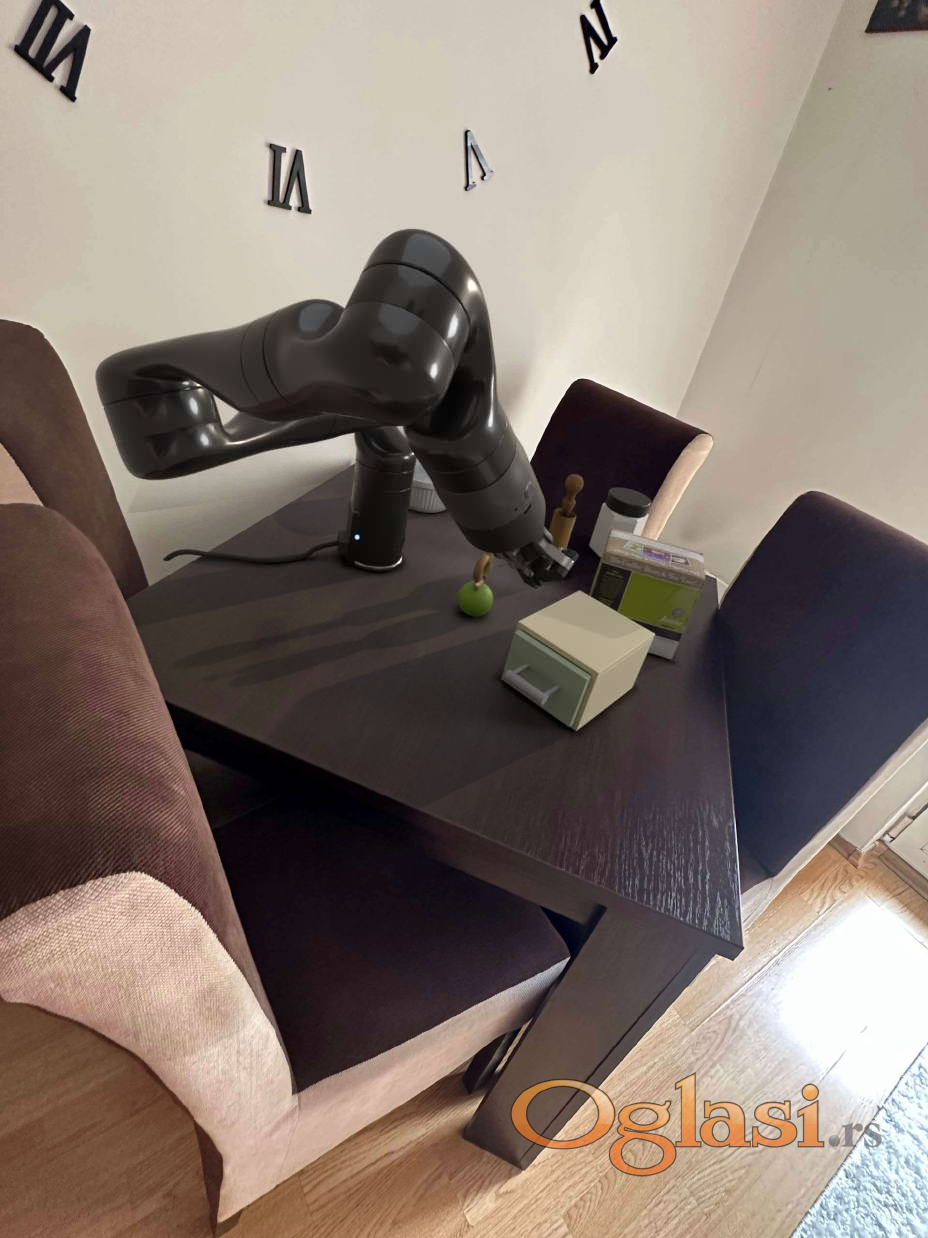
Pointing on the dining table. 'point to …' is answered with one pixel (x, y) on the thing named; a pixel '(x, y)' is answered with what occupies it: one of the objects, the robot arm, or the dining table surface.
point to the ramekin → (424, 493)
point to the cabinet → (593, 647)
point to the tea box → (650, 585)
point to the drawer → (546, 677)
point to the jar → (620, 516)
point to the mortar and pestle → (565, 513)
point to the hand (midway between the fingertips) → (536, 578)
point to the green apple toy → (477, 589)
